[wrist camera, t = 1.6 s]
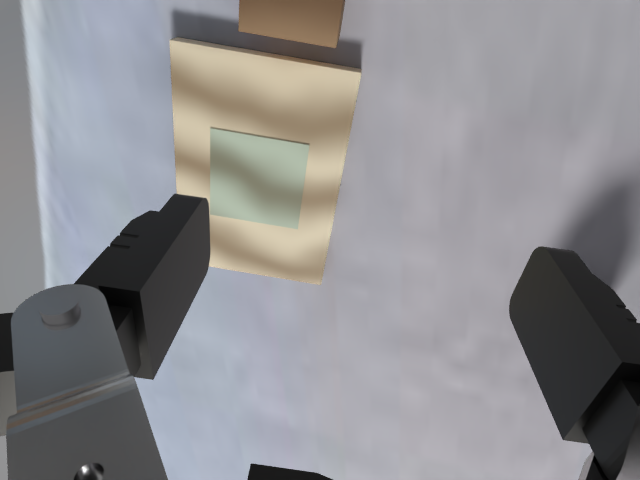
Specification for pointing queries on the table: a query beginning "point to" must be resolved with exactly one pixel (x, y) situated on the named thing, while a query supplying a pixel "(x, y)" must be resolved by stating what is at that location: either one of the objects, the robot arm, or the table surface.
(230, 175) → the birch board
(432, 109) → the table surface
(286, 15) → the walnut block
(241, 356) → the table surface
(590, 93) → the table surface
